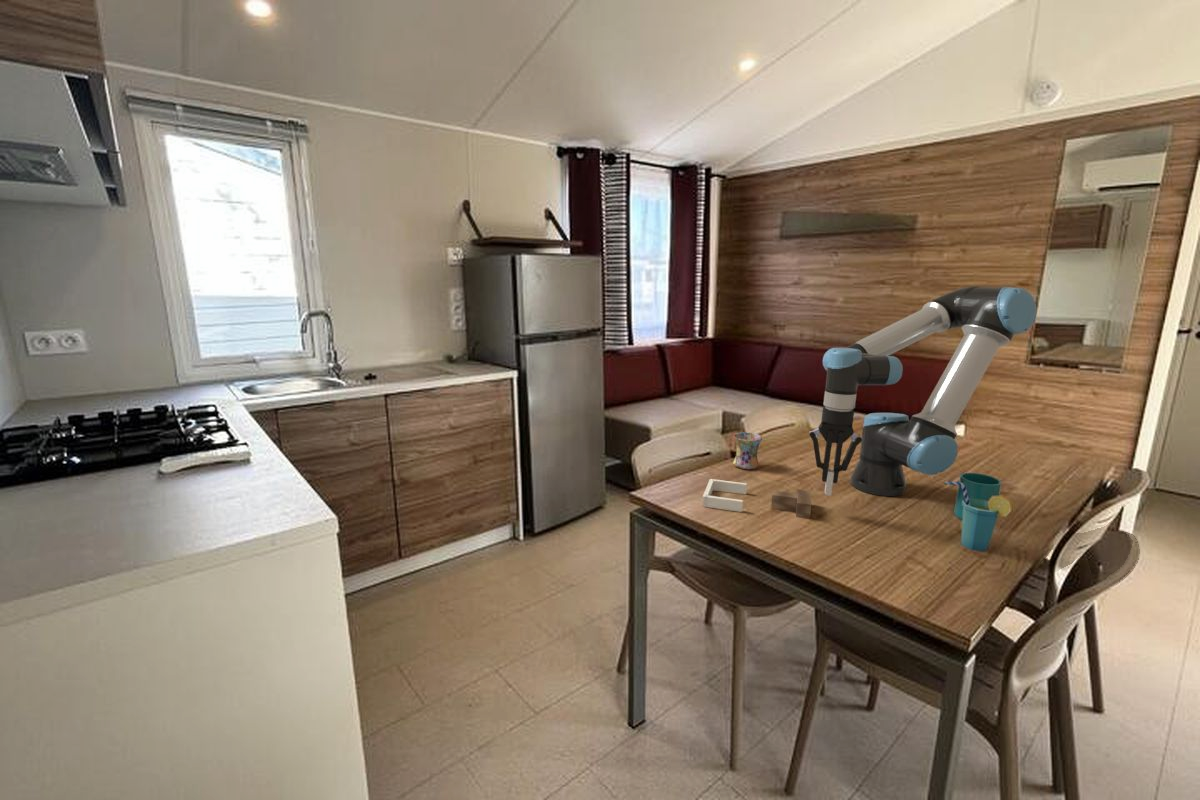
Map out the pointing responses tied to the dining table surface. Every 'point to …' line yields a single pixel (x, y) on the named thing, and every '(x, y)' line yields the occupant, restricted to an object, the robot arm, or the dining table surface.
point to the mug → (747, 450)
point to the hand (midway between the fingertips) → (827, 493)
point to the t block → (793, 502)
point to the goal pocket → (720, 501)
